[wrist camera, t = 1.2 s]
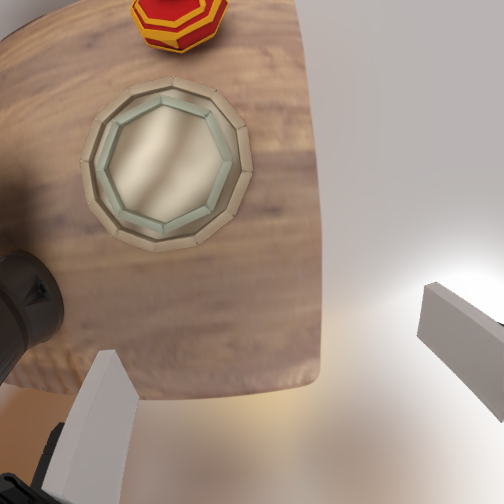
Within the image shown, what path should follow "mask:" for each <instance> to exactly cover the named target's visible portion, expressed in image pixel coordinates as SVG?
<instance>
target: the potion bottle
mask: <svg viewBox="0 0 504 504" xmlns="http://www.w3.org/2000/svg"><path fill="white" fill-rule="evenodd" d="M138 1H139V2H138ZM228 4H229V2H228V0H134V2H133V4H132V5H131V16H132V18H133V20H134V22H135V24H136V26H137V28H138V30H139V32H140V34H141V36H142V37H143V38H144V40H145V42H146V43H147V45H148V46H150V47H152V48H156V49H161V50H167V51H172V52H177V53H181V54H182V53H184V52H186V51H187V50H189V49H191V48H193V47H195V46H197V45H199V44H201V43H203V42H204V41H206V40H208V39H210V38H213V37H214V35H215V34H216V32H217V29H218V27H219V24H220V22H221V20H222V18H223V15H224V13H225V11H226V9H227V7H228ZM134 8H135V9H134ZM169 48H171V49H169ZM173 49H178V50H183V51H177V50H173Z"/></svg>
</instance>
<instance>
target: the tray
mask: <svg viewBox="0 0 504 504" xmlns="http://www.w3.org/2000/svg"><path fill="white" fill-rule="evenodd" d="M95 118H96V119H97V120H95V119H94V121H93V124H92V126H91V129H90V132H89V134H88V137H87V140H86V143H85V146H84V149H83V152H82V155H81V158H80V160H81V161H82V162H80V167H81V174H82V180H83V187H84V192H85V198H86V203H89V204H88V207H89V208H90V209H91V211H92V212H93V213H94V214H95V216H96V217H97V218H98V219H99V221H100V222H101V223H102V224H103V226H104V227H105V228H106V229H107V230H108V232H109V233H110V234H111V235H112V237H114V236H115V239H118V240H120V241H123V242H126V243H128V244H131V245H133V246H136V247H139V248H141V249H144V250H147V251H149V252H152V253H153V252H154V251H155V253H158V252H165V251H171V250H177V249H183V248H189V247H195V246H197V245H200V244H201V243H203V242H204V241H205V240H206V239H208V238H209V237H210V236H211V235H213V234H214V233H215V232H216V231H218V230H219V229H220V228H221V227H223V226H224V225H225V224H226V223H228V222H229V221H230V220H231V219H233V218H234V215H236V213H237V211H238V208H239V206H240V203H241V201H242V198H243V196H244V194H245V191H246V189H247V186H248V184H249V182H250V179H251V177H252V174H253V173H251V171H253V166H252V158H251V151H250V143H249V136H248V128H247V127H245V126H246V123H245V122H244V121H243V120H242V118H241V117H240V116H239V115H238V113H237V112H236V111H235V110H234V109H233V107H232V106H231V105H230V104H229V103H228V101H227V100H226V99H225V98H224V97H223V95H222V94H221V93H220V92H219V91H216V89H214V88H211V87H208V86H205V85H202V84H199V83H196V82H193V81H190V80H186V79H183V78H180V77H176V76H175V77H174V78H173V76H170V77H165V78H161V79H157V80H152V81H148V82H144V83H140V84H137V85H133V86H130V89H129V88H126V89H125V90H124V91H123V92H122V93H121V94H120V95H119V96H117V97H116V98H115V99H114V100H113V101H112V102H111V103H110V104H109V105H108V106H107V107H105V108H104V109H103V110H102V111H101V112H100V113H99V114H98V115H97V116H96V117H95Z"/></svg>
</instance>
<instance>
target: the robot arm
mask: <svg viewBox="0 0 504 504" xmlns="http://www.w3.org/2000/svg"><path fill="white" fill-rule="evenodd" d="M62 320H63V302H62V298H61V294H60V291H59V289H58V286H57V284H56V282H55V280H54V278H53V277H52V275H51V274H50V272H49V271H48V269H47V268H46V267H45V266H44V265H43V264H42V263H41V262H40V261H39V260H38V259H37V258H35V257H34V256H32V255H31V254H29V253H26V252H23V251H13V252H10V253H8V254H7V255H5V256H3V257H2V258H0V386H1V384H2V383H3V381H4V380H5V378H6V377H7V376H8V374H9V373H10V371H11V370H12V369H13V367H14V366H15V365H16V363H17V362H18V361H19V359H20V358H21V357H22V355H23V354H24V353H25V352H26V351H27V350H28V349H30V348H32V347H34V346H36V345H38V344H40V343H42V342H45V341H47V340H49V339H50V338H51V337H52V336H53V335H54V334H55V333H56V332H57V330H58V329H59V328H60V326H61V323H62ZM417 337H418V338H419V339H420V340H421V341H422V342H423V343H424V344H425V345H426V346H427V347H428V348H429V349H431V350H432V352H434V353H435V354H436V355H437V356H438V357H439V358H440V359H441V360H442V361H443V362H444V363H445V364H446V365H447V366H448V367H449V368H450V369H451V370H452V371H453V372H454V373H455V374H456V375H457V376H458V377H459V378H460V379H461V380H462V382H463V383H464V384H466V386H467V387H468V388H469V389H470V390H471V391H472V392H473V393H474V394H475V395H476V396H477V397H478V398H479V399H480V400H481V401H482V403H484V404H485V405H486V407H487V408H488V409H489V410H490V411H491V412H492V413H493V414H494V416H495V417H496V418H497V419H498V420H499V421H500V422H501V423H502V422H503V421H504V324H501V323H499V322H496V321H494V320H493V319H491V318H490V317H489V316H487V315H486V314H484V313H483V312H482V311H480V310H479V309H477V308H475V307H474V306H473V305H471V304H470V303H468V302H467V301H465V300H464V299H462V298H461V297H459V296H458V295H456V294H455V293H453V292H452V291H450V290H448V289H447V288H445V287H444V286H442V285H441V284H439V283H437V282H434V283H431V284H428V285H425V286H424V294H423V301H422V309H421V315H420V321H419V326H418V332H417ZM138 401H139V396H138V394H137V392H136V390H135V389H134V387H133V385H132V383H131V381H130V379H129V377H128V375H127V373H126V371H125V369H124V367H123V365H122V363H121V361H120V359H119V357H118V355H117V353H116V351H115V349H114V350H102V351H99V352H98V354H97V356H96V358H95V360H94V362H93V364H92V366H91V368H90V370H89V372H88V374H87V376H86V378H85V380H84V382H83V384H82V387H81V389H80V391H79V393H78V395H77V397H76V400H75V402H74V404H73V406H72V409H71V411H70V413H69V415H68V418H67V420H66V423H61V422H60V423H59V424H58V425H57V426H56V427H55V428H54V429H53V431H51V434H50V436H49V438H48V441H47V445H45V448H44V451H43V454H42V456H41V458H40V461H39V463H38V466H37V469H36V472H35V474H34V477H33V480H32V483H31V485H30V487H29V486H27V485H26V484H25V483H24V482H23V481H22V480H20V479H19V478H18V477H17V476H16V475H15V474H12V473H3V474H1V475H0V504H119V499H120V492H121V486H122V480H123V473H124V468H125V462H126V457H127V452H128V446H129V442H130V437H131V432H132V428H133V423H134V419H135V414H136V410H137V406H138Z"/></svg>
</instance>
